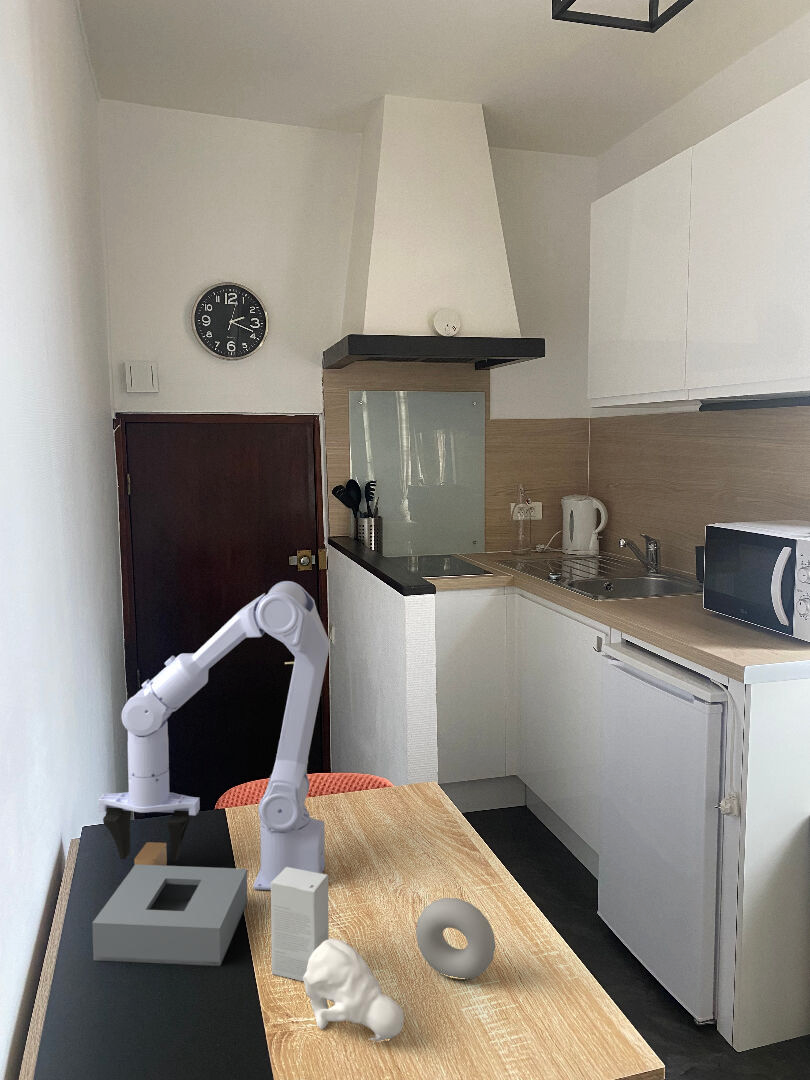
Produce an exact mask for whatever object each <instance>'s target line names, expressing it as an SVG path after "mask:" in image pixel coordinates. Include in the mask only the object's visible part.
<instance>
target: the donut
mask: <svg viewBox="0 0 810 1080" xmlns="http://www.w3.org/2000/svg"><path fill="white" fill-rule="evenodd" d="M416 923H417V924H416V928H415V934H416V935H415V937H416V943H417V947H418V949H419V950H420V952H421V956H422V958H423V959H424V961H426V963H427V964H428V965H429V966H430V967H431V968H432V969H433V970H435V971H436V972H437V971H438V974H440V973H442V974H445V975H448V976H453V977H458V978H465V979H467V978H471V979H474V978H477V977H478V976H480V975H482V974H483V973H485V972H486V971H487V969H489V967H490V965H491V963H492V962H493V960H494V955H495V951H496V946H497V945H496V939H495V933H494V930H493V928H492V926H491V923H490V921H489V919H488V918H487V917H486V916H485V915H484V914H483V912H482V911H481V910H480V908H478V907H476V906H474V905H473V904H472V903H471V902H469V901H466V900H463V899H461V898H457V897H456V898H455V897H444V898H443V897H442V898H440V899H435V900H433V901H432V902H431V903H429V904H428V905H427V906H425V907H424V908H423V910H422V911H421V913H420V915H419V917H418V919H417V922H416ZM447 928H448V929H450V928H451V929H455V930H456V931H459V932H460V933H461V934H462V935H463V936H464V937H465V940H466V942H467V946H466V947H465V948H456V947H454V946H452V945H451V944H450V943H448V941H447V940H446V938H445V936H444V931H445V930H446V929H447ZM442 974H441V975H442ZM467 980H468V979H467Z"/></svg>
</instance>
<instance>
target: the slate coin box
mask: <svg viewBox="0 0 810 1080" xmlns="http://www.w3.org/2000/svg"><path fill="white" fill-rule="evenodd" d="M247 905H248V868H238V867H237V868H232V867H213V866H212V867H210V866H207V867H206V866H186V865H185V866H184V865H183V866H181V865H179V866H178V865H167V866H161V865H136V864H135V863H134V865H133V867H132V868H131V870H130V871H129V872H128V873H127V875H126V877H125V878H124V879H123V881H122V882H121V883H120V884H119V886H118V887H117V888H116V890H115V891H114V893H112V896H111V897H110V898H109V899H108V901H107V902H106V904H105V905H104V906H103V908H102V909H101V910H100V911H99V913H98V915H97V916H96V917H95V919H94V920H93V921H92V925H91V926H92V927H91V929H92V951H93V952H92V954H93V961H101V962H103V961H104V962H121V963H122V962H123V963H124V962H125V963H126V962H127V963H145V964H146V963H147V964H164V965H165V964H167V965H186V966H187V965H193V966H211V967H212V966H214V967H216V966H217V967H221V965H222V962H223V961H224V958H225V956H226V953H227V950H228V948H229V946H230V944H231V941H232V939H233V937H234V934H235V932H236V930H237V928H238V926H239V924H240V923H239V922H240V920H241V919H242V916H243V913H244V912H245V908H246V907H247Z"/></svg>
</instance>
